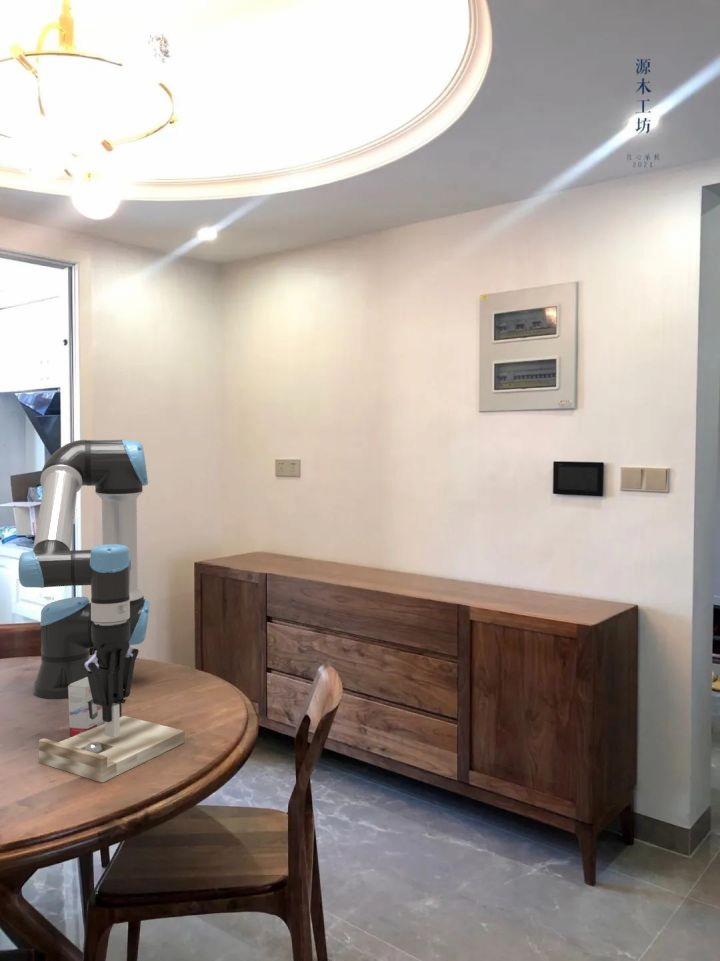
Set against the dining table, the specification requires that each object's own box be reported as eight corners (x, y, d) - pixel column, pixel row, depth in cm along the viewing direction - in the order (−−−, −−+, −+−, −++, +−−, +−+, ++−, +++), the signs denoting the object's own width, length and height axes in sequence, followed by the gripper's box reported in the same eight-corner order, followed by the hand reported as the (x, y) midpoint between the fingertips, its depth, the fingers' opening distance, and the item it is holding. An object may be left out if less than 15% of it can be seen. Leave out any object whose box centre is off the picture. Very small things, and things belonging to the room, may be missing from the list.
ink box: (87, 742, 158) (86, 687, 157) (67, 739, 159) (66, 685, 159) (112, 727, 166) (112, 675, 165) (93, 725, 167) (92, 673, 167)
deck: (39, 762, 147) (38, 740, 147) (124, 726, 166) (124, 706, 166) (102, 782, 138) (102, 758, 138) (184, 742, 158) (184, 721, 157)
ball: (78, 760, 147) (80, 742, 147) (94, 756, 150) (96, 738, 150) (90, 765, 145) (92, 747, 145) (105, 761, 148) (107, 743, 148)
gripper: (98, 630, 143) (99, 750, 144) (147, 616, 155) (149, 728, 156) (71, 625, 147) (73, 742, 148) (122, 613, 158) (123, 721, 159)
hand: (112, 735), depth 152 cm, fingers closed
